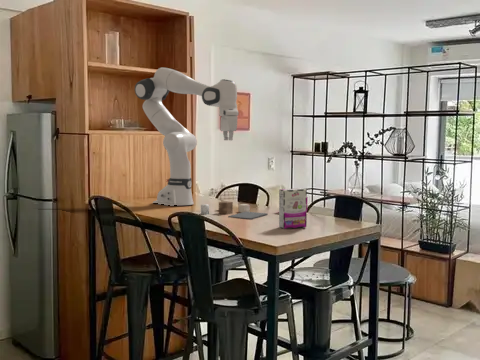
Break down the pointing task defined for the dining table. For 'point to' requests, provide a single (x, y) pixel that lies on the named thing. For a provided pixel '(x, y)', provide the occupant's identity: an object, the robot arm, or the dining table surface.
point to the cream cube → (244, 208)
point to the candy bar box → (292, 208)
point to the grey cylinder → (204, 209)
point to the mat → (248, 215)
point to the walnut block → (225, 207)
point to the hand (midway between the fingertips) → (228, 140)
